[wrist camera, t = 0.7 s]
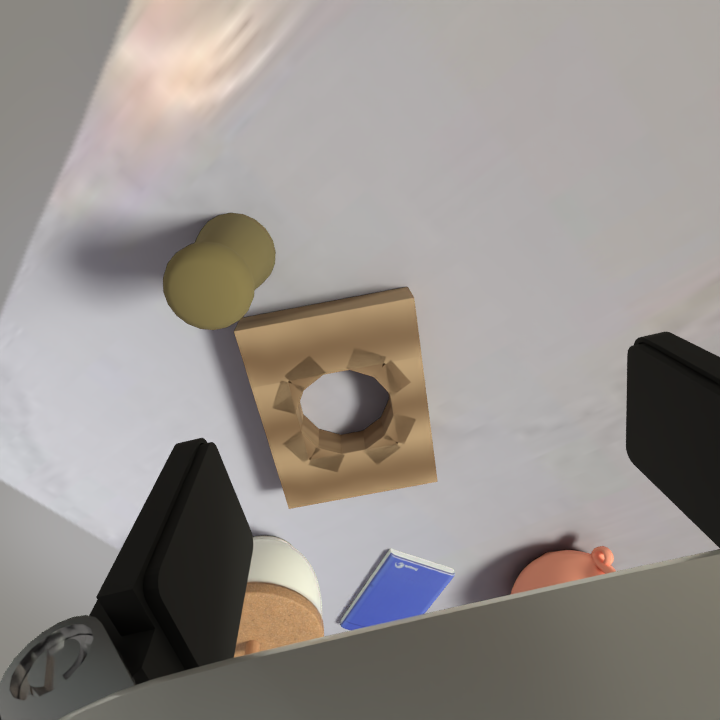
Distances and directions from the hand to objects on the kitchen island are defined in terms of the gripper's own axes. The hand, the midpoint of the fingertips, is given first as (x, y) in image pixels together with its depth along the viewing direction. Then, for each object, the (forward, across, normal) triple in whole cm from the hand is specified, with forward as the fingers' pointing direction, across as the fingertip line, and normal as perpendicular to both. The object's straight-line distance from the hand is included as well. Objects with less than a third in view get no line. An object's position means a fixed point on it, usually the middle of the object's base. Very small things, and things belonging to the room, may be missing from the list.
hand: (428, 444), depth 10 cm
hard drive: (+31, +4, +40) cm, 51 cm away
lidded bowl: (+30, +16, +31) cm, 46 cm away
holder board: (+29, +4, +13) cm, 32 cm away
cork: (+29, +9, -1) cm, 30 cm away
